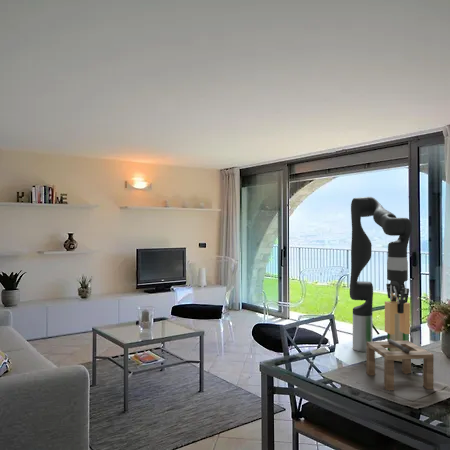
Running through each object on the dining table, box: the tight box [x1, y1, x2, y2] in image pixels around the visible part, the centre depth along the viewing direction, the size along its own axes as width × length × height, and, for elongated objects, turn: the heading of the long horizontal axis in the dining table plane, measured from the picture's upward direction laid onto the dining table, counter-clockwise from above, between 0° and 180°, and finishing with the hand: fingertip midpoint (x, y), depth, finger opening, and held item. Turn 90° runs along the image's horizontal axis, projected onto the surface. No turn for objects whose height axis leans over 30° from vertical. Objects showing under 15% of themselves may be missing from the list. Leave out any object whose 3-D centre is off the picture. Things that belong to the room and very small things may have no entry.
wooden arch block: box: [384, 300, 411, 335], centre depth 165 cm, size 4×8×12 cm, turn 95°
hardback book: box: [386, 314, 410, 363], centre depth 193 cm, size 18×7×24 cm, turn 151°
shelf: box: [365, 339, 434, 392], centre depth 165 cm, size 18×18×15 cm
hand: (397, 311), depth 165 cm, fingers closed on wooden arch block, 4 cm apart
